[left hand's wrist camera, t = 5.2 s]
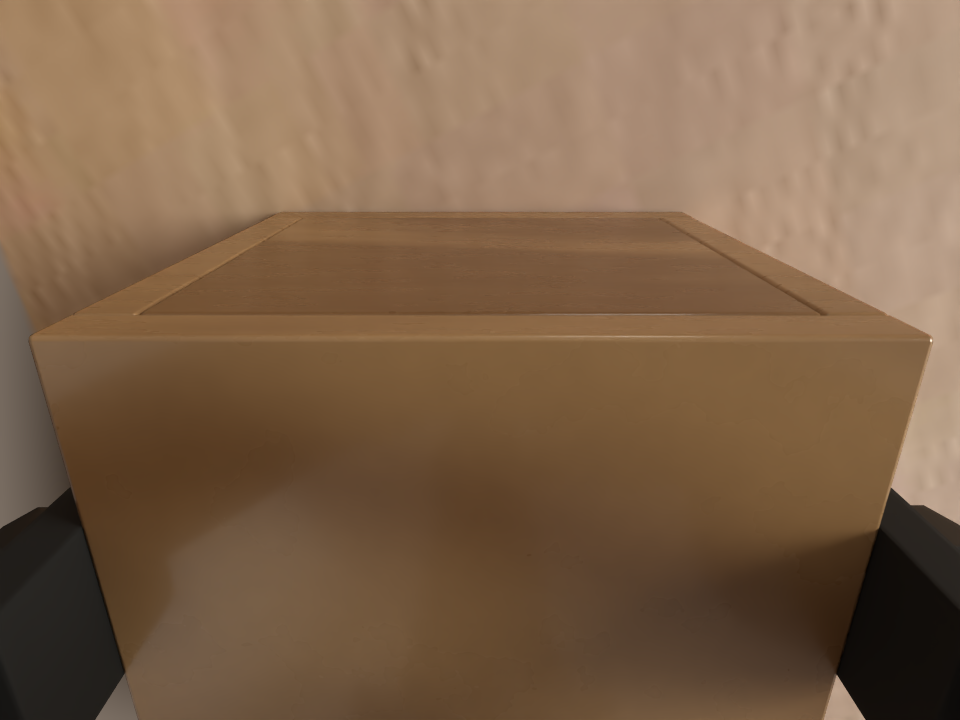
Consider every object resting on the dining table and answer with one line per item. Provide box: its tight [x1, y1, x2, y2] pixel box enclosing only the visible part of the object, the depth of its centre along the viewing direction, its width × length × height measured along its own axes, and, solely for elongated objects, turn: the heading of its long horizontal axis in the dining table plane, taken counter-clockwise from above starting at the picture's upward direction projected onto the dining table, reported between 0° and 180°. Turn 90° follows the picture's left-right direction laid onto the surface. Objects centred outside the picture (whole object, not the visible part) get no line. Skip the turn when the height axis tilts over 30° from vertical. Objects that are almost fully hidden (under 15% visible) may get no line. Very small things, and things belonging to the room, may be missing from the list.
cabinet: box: [29, 212, 933, 720], centre depth 16 cm, size 19×11×10 cm, turn 0°
